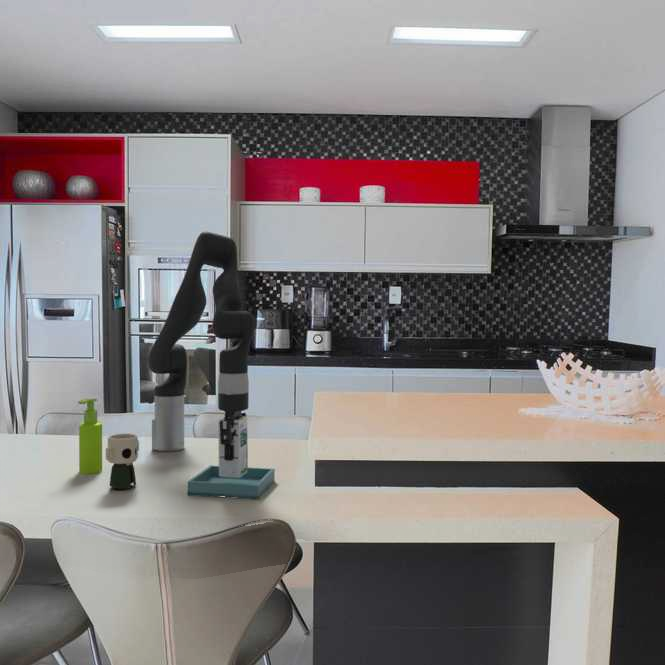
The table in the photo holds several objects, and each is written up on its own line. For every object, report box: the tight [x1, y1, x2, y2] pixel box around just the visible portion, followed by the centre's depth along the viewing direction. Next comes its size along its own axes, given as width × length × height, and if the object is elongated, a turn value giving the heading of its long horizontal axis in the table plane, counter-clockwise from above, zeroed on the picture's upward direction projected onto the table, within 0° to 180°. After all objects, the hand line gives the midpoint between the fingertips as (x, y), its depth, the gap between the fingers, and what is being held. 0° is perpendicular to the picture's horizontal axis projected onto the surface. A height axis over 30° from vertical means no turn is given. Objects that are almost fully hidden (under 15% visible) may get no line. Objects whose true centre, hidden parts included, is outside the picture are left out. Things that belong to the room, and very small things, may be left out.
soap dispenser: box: [77, 398, 103, 475], centre depth 170 cm, size 6×7×20 cm
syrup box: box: [217, 416, 249, 478], centre depth 157 cm, size 6×6×14 cm
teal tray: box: [187, 464, 276, 500], centre depth 157 cm, size 18×16×3 cm
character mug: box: [105, 433, 140, 490], centre depth 156 cm, size 11×7×13 cm, turn 155°
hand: (233, 456), depth 157 cm, fingers closed on syrup box, 5 cm apart
